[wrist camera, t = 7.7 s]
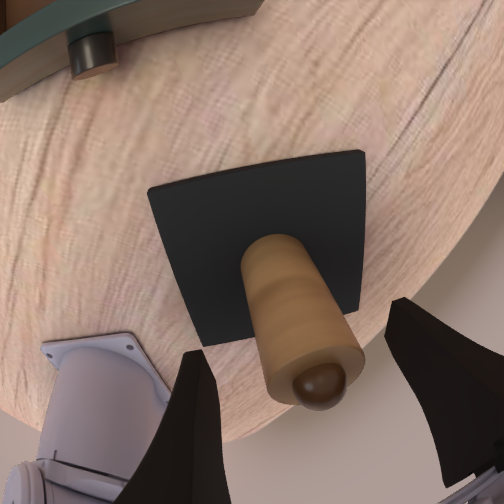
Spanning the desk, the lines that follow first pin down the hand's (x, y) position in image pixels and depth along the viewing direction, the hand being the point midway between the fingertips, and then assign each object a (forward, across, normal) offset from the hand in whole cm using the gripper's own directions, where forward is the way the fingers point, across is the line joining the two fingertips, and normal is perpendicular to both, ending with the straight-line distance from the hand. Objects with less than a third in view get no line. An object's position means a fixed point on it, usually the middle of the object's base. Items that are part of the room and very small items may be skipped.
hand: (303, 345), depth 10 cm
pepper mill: (+5, 0, 0) cm, 5 cm away
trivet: (+6, 0, 0) cm, 6 cm away
